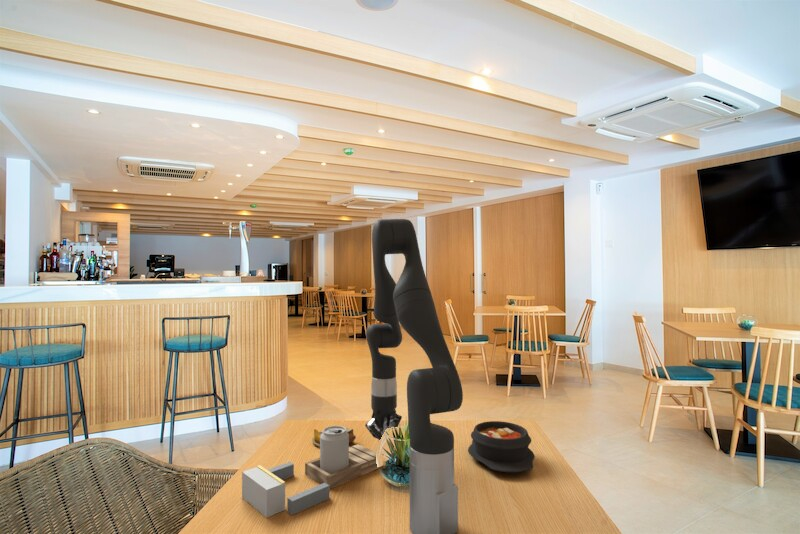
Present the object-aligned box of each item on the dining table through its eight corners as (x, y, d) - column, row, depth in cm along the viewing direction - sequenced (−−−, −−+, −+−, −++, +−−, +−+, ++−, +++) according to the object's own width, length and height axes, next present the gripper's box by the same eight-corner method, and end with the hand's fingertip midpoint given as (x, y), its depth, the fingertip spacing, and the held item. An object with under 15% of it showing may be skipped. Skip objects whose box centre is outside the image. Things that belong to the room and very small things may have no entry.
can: (343, 482, 109) (343, 435, 109) (315, 479, 111) (315, 433, 111) (352, 469, 117) (352, 425, 117) (326, 467, 118) (326, 423, 118)
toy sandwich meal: (339, 432, 145) (339, 417, 145) (361, 444, 134) (361, 429, 134) (305, 441, 137) (305, 426, 137) (326, 455, 127) (326, 438, 127)
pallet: (383, 466, 119) (383, 455, 119) (329, 489, 106) (329, 477, 106) (358, 454, 126) (358, 444, 126) (305, 474, 114) (305, 463, 114)
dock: (329, 498, 102) (329, 471, 102) (273, 523, 91) (273, 494, 92) (289, 473, 114) (289, 449, 114) (236, 492, 104) (236, 466, 104)
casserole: (550, 478, 112) (549, 446, 112) (479, 480, 111) (479, 447, 111) (517, 441, 137) (517, 414, 137) (460, 442, 135) (460, 415, 136)
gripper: (375, 399, 119) (375, 462, 119) (408, 390, 128) (408, 448, 128) (358, 393, 124) (358, 454, 124) (391, 385, 134) (391, 441, 133)
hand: (383, 451), depth 126 cm, fingers closed
